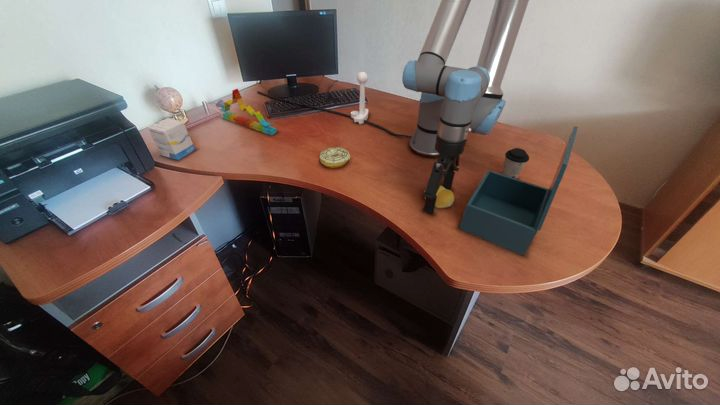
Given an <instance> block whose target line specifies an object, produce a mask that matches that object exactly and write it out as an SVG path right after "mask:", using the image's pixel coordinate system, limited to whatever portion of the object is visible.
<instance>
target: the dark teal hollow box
mask: <svg viewBox="0 0 720 405" xmlns="http://www.w3.org/2000/svg"><path fill="white" fill-rule="evenodd" d="M548 192H549V188H547V187H545V186H540V185H538V184H534V183H531V182H527V181H525V180H522V179H520V178H519V179H518V178H517V179H515V178H512V177H509V176H506V175H503V174H502V173H500V172H497V171H493V170H491V169H487V171H486V172H485V174H484V176H483V177H482V179H481V181H480V182H479V184H478V186H477V187H476V189H475V190H474V192H473V194H472V195H471V197H470V199H469V200H468V202H467V203H466V205H465V210H464V212H463V215H462V218H461V222H460V225H459V227H458V229H459V230H461V231H463V232H466V233H467V234H471V235H473V236H475V237H478V238H480V239H482V240H485V241H487V242H490V243H492V244H495V245H497V246H500V247H501V248H504V249H506V250H509V251H511V252H514V253H516V254H518V255H521V256H525V254H526V253H527V251H528V249H529V247H530V245H531V244H532V242H533V240H534V239H535V237H536V235H537V233H538V231H539V230H536V229H537V226H538V223H539V219H540V216H541V213H542V210H543V207H544V204H545V201H546V198H547V195H548Z"/></svg>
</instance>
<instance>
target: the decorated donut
mask: <svg viewBox="0 0 720 405" xmlns="http://www.w3.org/2000/svg"><path fill="white" fill-rule="evenodd" d="M350 160H351V154H350V152H349V151H348V149H345V148H343V147H342V146H341V147H340V146H334V147H328V148H325V149H324V150H322V151H321V152H320V153H319V162H320V163H321V164H322V165H323V166H324V167H327V168H329V169H339V168H342V167H344V166H345V165H346V164H347V163H348V162H349V161H350Z"/></svg>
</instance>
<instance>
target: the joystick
mask: <svg viewBox="0 0 720 405" xmlns="http://www.w3.org/2000/svg"><path fill="white" fill-rule="evenodd" d="M368 79H369V76H368V74H367V72H365V71H359V72H358V73H357V75H356V80H357V82H358V83H359V103H358V104H359V105H358V106H359V107H358V108H359V109H358V110H352V111H351V112H350V115H351V117H350V118H351V119H353V122H354V123H358V125H363V124H364V123H365V122H364V120H366V121H368V119H369V108H366V83H367V81H368Z"/></svg>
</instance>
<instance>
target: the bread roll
mask: <svg viewBox="0 0 720 405" xmlns="http://www.w3.org/2000/svg"><path fill="white" fill-rule="evenodd" d="M424 192H425V190H424V191H423V193H424ZM436 195H437V198H436V203H435V208H436V209H445V208H450V207H451V206H453V204H454V201H455V195H454V193H453V192H452V190H451V189H450V190H449V189H446V188H444V187H443V186H442V185H441V184H440V187H439V189H438V192H437V194H436ZM423 198H424V200H425V201H426V197H424V196H423Z"/></svg>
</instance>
